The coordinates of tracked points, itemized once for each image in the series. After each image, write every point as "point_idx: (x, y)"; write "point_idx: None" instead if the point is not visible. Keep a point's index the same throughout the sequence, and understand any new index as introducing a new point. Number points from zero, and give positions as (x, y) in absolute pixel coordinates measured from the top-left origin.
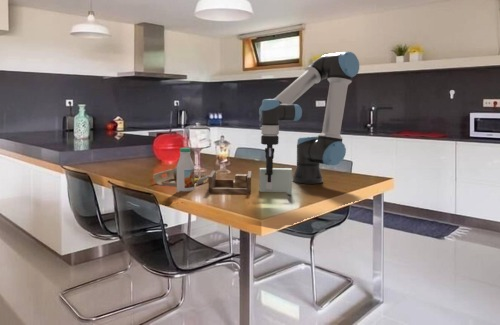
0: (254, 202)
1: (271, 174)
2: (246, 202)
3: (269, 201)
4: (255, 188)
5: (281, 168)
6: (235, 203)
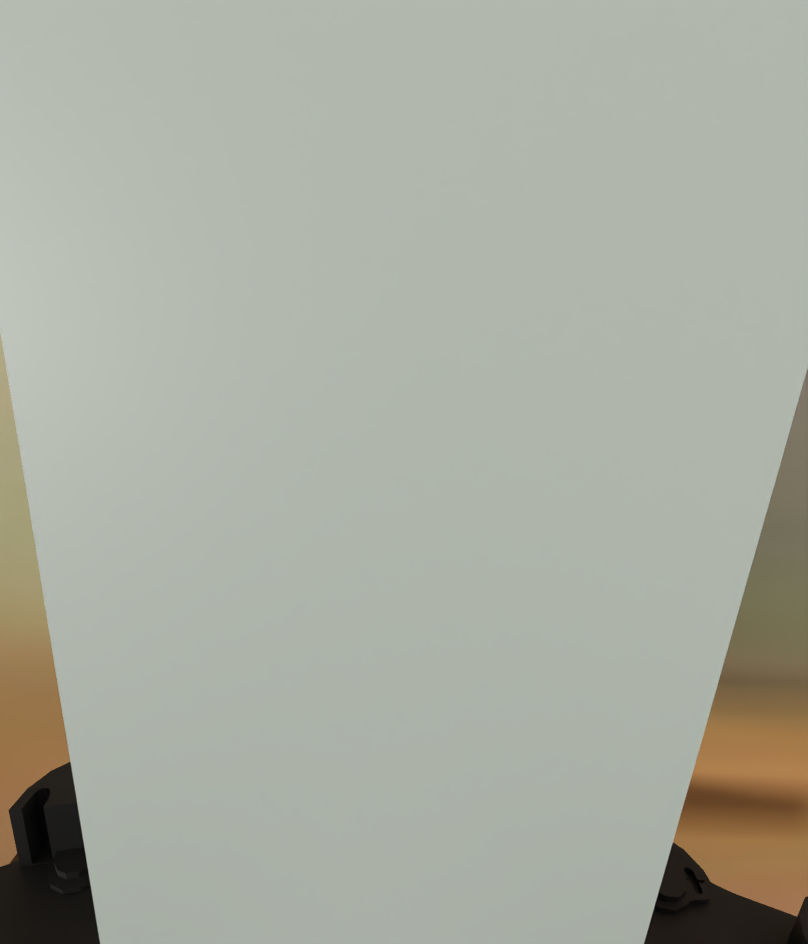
0: (798, 740)
1: (675, 866)
2: (778, 809)
3: (792, 585)
4: (44, 694)
5: (207, 579)
6: (793, 893)
